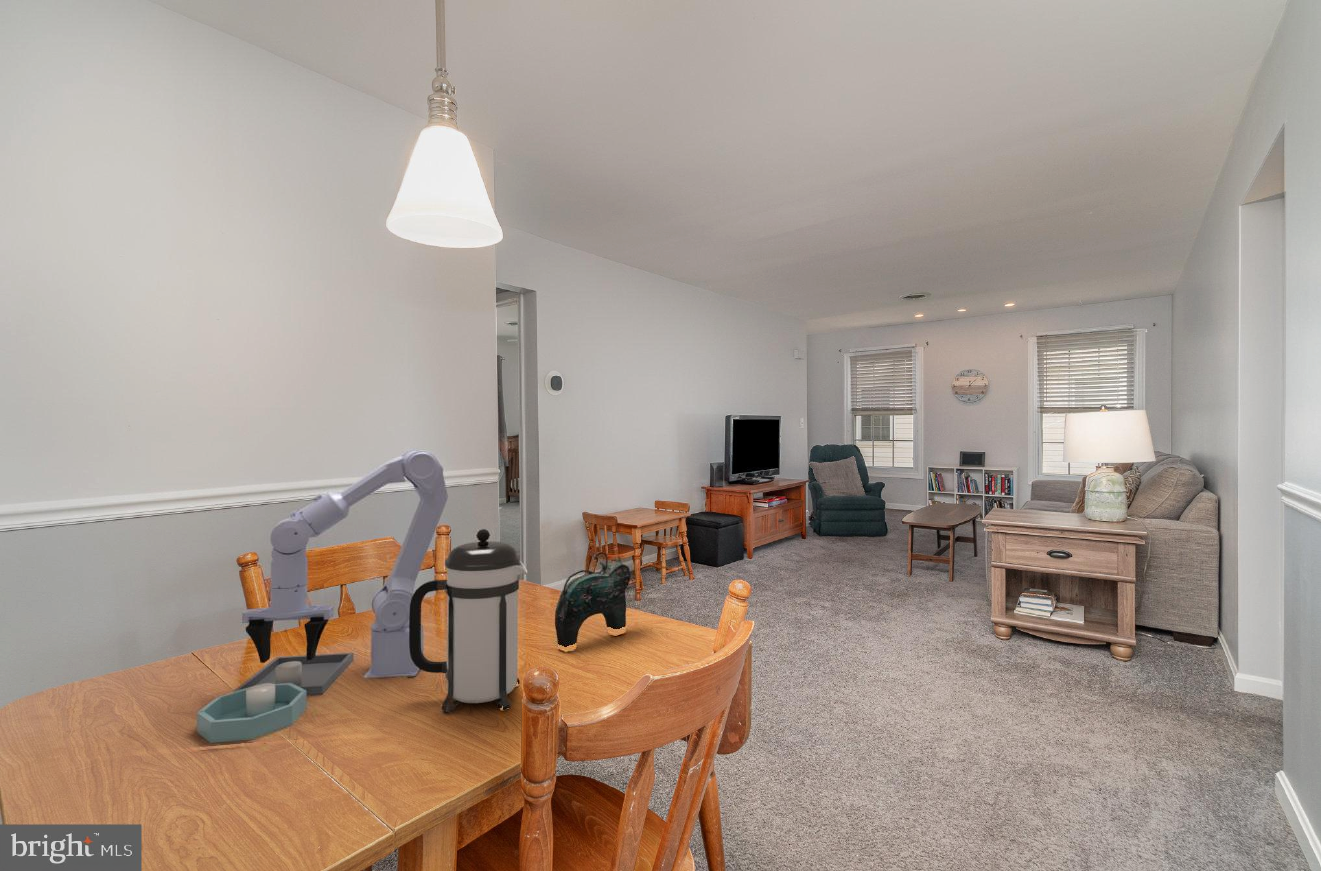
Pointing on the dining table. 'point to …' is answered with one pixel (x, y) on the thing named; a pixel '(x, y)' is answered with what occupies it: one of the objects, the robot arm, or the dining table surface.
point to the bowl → (231, 724)
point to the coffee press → (475, 622)
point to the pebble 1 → (260, 699)
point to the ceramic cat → (592, 600)
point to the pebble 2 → (289, 673)
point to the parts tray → (306, 671)
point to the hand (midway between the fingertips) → (288, 659)
